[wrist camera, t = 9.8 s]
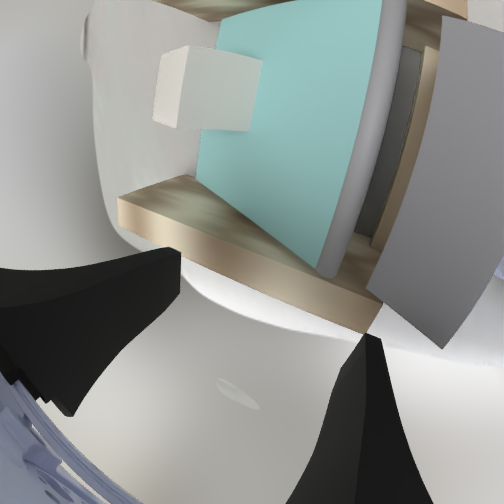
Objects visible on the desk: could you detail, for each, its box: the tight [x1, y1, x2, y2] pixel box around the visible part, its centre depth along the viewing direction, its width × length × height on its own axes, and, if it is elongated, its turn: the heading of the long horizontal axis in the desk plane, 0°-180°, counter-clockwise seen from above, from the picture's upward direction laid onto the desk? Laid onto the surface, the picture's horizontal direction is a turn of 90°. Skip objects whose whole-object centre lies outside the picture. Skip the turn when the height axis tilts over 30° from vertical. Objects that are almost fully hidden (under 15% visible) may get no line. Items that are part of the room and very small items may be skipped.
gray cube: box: [152, 45, 263, 132], centre depth 12 cm, size 4×4×4 cm
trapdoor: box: [196, 0, 504, 349], centre depth 11 cm, size 18×12×4 cm, turn 80°
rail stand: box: [117, 0, 468, 335], centre depth 12 cm, size 17×17×7 cm
